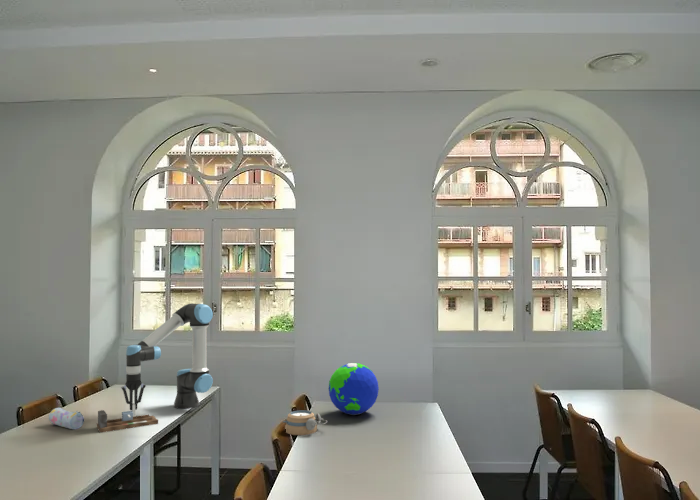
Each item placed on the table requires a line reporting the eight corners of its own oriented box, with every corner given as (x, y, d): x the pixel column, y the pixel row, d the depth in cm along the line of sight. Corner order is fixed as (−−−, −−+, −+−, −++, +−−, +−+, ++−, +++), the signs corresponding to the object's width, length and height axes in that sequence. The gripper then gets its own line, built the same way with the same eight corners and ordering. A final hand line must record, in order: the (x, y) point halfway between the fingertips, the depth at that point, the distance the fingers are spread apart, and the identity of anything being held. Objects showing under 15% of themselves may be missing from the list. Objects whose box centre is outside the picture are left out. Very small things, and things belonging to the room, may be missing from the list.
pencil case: (85, 427, 310) (85, 410, 310) (70, 431, 302) (70, 413, 302) (61, 422, 320) (61, 405, 320) (47, 426, 312) (47, 409, 312)
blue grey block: (131, 419, 315) (131, 410, 315) (134, 423, 307) (134, 414, 308) (121, 421, 313) (121, 412, 313) (124, 425, 305) (124, 415, 305)
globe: (386, 410, 339) (386, 360, 340) (367, 423, 312) (366, 369, 313) (342, 405, 352) (341, 357, 353) (319, 417, 325) (319, 365, 325)
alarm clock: (292, 408, 311) (331, 411, 304) (292, 424, 311) (331, 428, 304) (279, 416, 295) (320, 419, 288) (279, 433, 295) (320, 437, 288)
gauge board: (153, 418, 325) (153, 403, 325) (158, 423, 315) (158, 407, 315) (96, 427, 309) (96, 410, 309) (100, 432, 299) (100, 415, 299)
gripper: (144, 371, 321) (144, 412, 320) (119, 373, 314) (119, 416, 313) (147, 373, 315) (147, 415, 314) (122, 375, 308) (122, 419, 307)
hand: (133, 415), depth 314 cm, fingers closed
